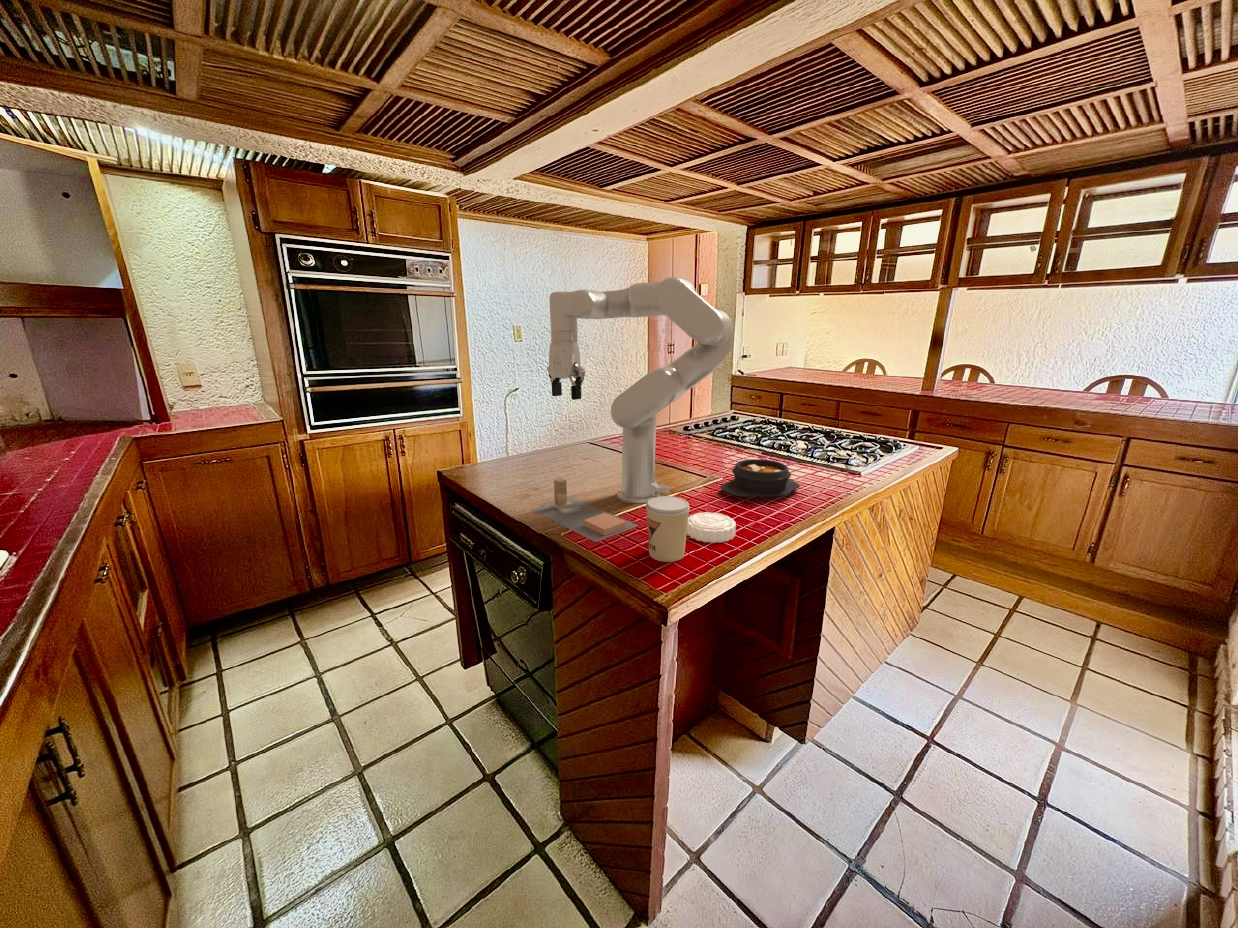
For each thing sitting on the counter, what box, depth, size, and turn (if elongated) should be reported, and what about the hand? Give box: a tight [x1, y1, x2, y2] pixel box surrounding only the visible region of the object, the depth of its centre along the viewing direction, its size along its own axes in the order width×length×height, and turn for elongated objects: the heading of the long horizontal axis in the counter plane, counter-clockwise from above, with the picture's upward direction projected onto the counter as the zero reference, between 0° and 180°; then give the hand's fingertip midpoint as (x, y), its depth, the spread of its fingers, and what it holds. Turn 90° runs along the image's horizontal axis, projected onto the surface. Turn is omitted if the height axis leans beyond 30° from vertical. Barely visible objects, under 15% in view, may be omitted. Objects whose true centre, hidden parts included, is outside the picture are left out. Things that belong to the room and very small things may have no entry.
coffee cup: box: [645, 495, 690, 563], centre depth 104 cm, size 9×9×12 cm
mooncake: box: [686, 511, 737, 544], centre depth 116 cm, size 12×12×4 cm
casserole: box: [719, 458, 801, 499], centre depth 144 cm, size 25×19×8 cm
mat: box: [531, 497, 639, 543], centre depth 126 cm, size 28×14×1 cm, turn 42°
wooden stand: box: [550, 478, 580, 515], centre depth 130 cm, size 7×5×8 cm
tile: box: [584, 513, 626, 536], centre depth 119 cm, size 2×7×8 cm
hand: (566, 397), depth 141 cm, fingers open, 9 cm apart
